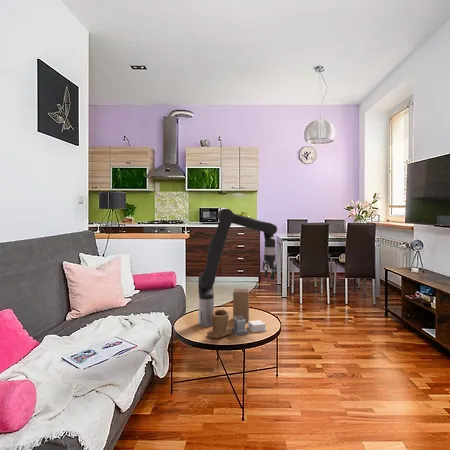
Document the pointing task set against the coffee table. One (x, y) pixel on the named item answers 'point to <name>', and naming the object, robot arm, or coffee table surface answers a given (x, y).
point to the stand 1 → (239, 332)
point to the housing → (239, 323)
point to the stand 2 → (256, 326)
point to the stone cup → (219, 324)
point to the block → (241, 303)
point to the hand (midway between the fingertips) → (269, 278)
